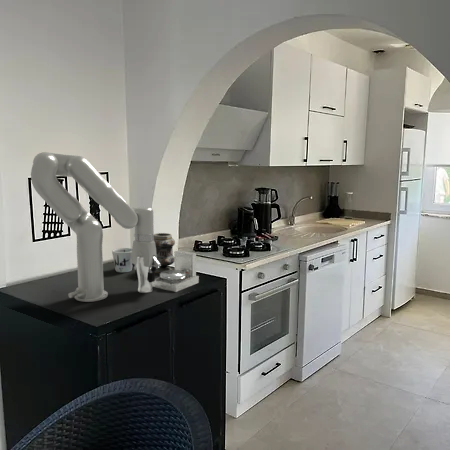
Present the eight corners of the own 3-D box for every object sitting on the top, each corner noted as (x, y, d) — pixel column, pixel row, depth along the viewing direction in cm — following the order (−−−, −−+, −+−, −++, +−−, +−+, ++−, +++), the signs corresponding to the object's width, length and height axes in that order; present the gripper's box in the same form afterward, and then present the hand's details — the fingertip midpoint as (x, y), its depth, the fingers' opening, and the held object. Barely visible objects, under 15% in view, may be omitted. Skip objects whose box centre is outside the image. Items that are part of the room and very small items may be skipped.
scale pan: (174, 281, 190) (174, 278, 190) (154, 276, 196) (154, 274, 195) (192, 274, 200) (192, 271, 200) (172, 270, 206) (172, 267, 206)
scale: (176, 291, 190) (176, 261, 187) (152, 286, 196) (151, 256, 194) (198, 282, 203) (198, 253, 201) (175, 277, 210) (175, 250, 208)
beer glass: (142, 294, 186) (141, 258, 183) (133, 290, 191) (133, 255, 189) (156, 291, 190) (156, 256, 188) (148, 287, 196) (147, 252, 193)
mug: (109, 273, 216) (109, 252, 215) (118, 265, 231) (117, 245, 229) (132, 273, 216) (131, 252, 214) (139, 265, 231) (138, 246, 229)
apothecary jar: (180, 269, 224) (179, 233, 221) (165, 275, 213) (165, 237, 210) (159, 266, 229) (159, 231, 226) (144, 272, 219) (144, 235, 216)
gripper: (122, 236, 188) (123, 279, 191) (154, 241, 179) (155, 286, 182) (134, 233, 195) (135, 275, 198) (166, 238, 186) (167, 281, 189)
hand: (145, 279), depth 190 cm, fingers closed on beer glass, 6 cm apart
